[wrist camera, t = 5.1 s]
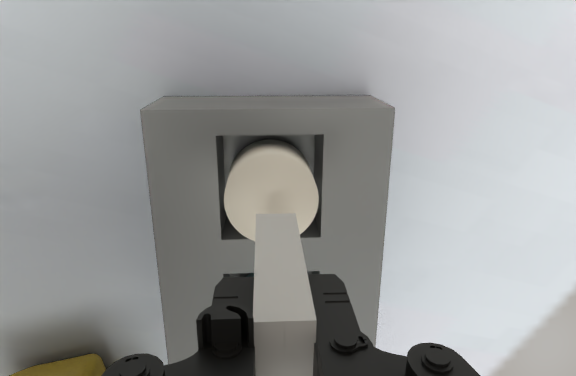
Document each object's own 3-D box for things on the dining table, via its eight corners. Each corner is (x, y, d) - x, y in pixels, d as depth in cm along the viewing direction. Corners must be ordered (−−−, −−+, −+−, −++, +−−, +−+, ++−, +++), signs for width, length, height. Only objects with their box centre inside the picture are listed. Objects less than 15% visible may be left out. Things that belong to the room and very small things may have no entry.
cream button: (230, 218, 23) (226, 245, 20) (227, 139, 22) (221, 155, 19) (310, 216, 24) (317, 242, 21) (311, 139, 22) (319, 154, 19)
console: (192, 407, 32) (180, 471, 27) (163, 96, 24) (140, 109, 20) (350, 400, 33) (365, 461, 28) (369, 95, 25) (395, 107, 20)
